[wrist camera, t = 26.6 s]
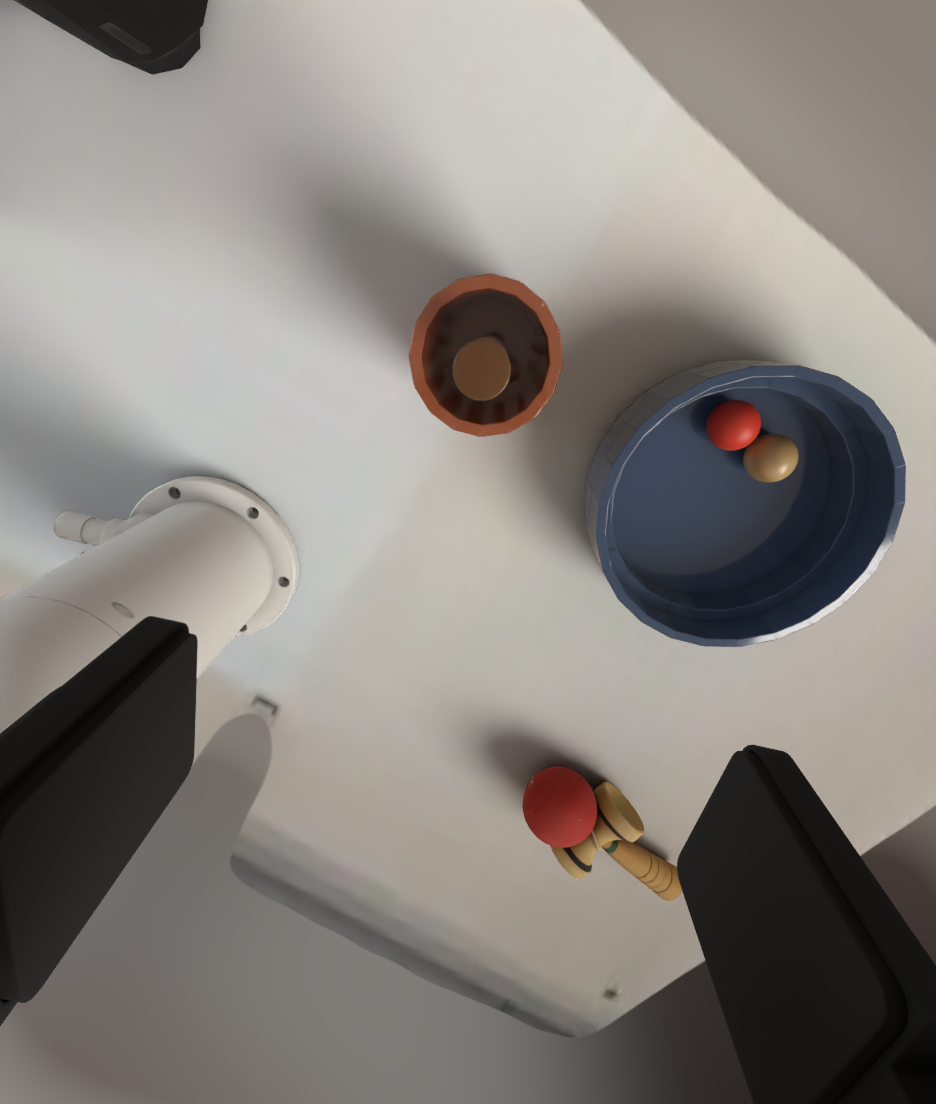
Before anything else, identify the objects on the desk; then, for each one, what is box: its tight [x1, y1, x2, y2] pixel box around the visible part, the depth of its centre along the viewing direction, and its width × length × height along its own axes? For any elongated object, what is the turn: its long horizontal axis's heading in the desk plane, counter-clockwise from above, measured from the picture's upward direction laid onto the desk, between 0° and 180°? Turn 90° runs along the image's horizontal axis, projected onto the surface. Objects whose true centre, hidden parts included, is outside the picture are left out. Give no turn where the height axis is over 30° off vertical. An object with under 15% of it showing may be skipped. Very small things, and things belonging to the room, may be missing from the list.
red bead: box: [706, 400, 761, 451], centre depth 33 cm, size 3×3×3 cm
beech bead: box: [743, 433, 799, 483], centre depth 33 cm, size 3×3×3 cm
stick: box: [453, 334, 511, 400], centre depth 25 cm, size 2×2×18 cm
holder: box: [409, 274, 562, 437], centre depth 30 cm, size 7×7×9 cm
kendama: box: [523, 766, 682, 901], centre depth 46 cm, size 8×6×18 cm
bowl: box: [584, 360, 906, 647], centre depth 34 cm, size 17×17×6 cm
